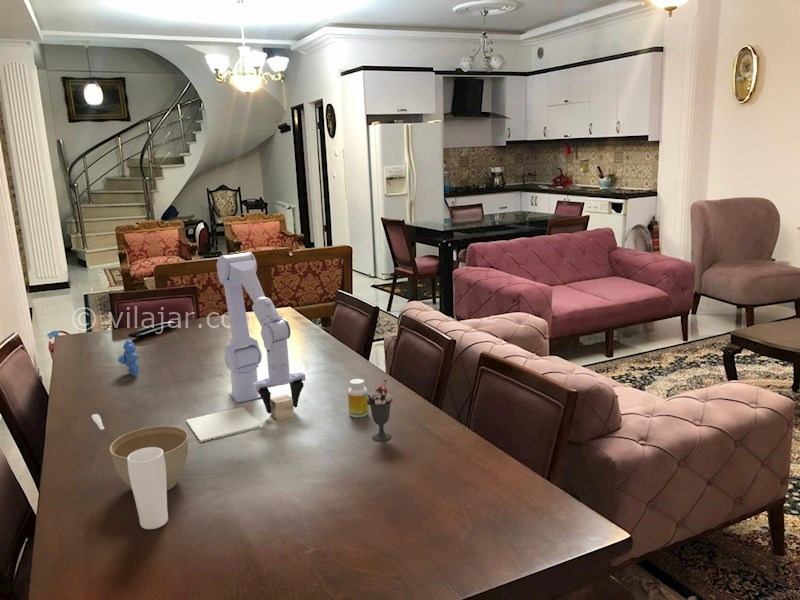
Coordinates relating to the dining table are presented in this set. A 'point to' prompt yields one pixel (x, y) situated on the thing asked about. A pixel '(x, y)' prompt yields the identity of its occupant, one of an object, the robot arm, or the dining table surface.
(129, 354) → the grapes
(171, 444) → the planter bowl
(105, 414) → the dining table surface
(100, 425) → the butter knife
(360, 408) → the supplement bottle
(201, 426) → the pad
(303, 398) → the dining table surface
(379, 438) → the sundae
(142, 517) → the drinking glass
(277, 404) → the cube
